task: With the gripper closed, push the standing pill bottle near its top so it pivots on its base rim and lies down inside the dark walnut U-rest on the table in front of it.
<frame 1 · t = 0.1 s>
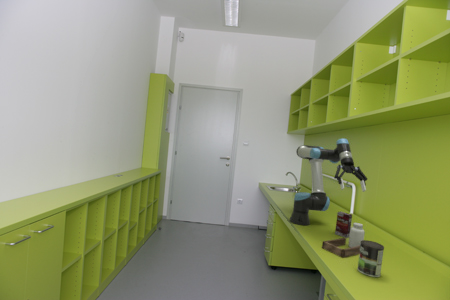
hand: (353, 189, 163), 36 cm above the worktop, tool tilted 35°, fingers open, 13 cm apart
pill bottle: (355, 248, 166), on the worktop
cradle: (343, 250, 159), on the worktop
coffee can: (368, 272, 133), on the worktop
supplement box: (342, 235, 188), on the worktop
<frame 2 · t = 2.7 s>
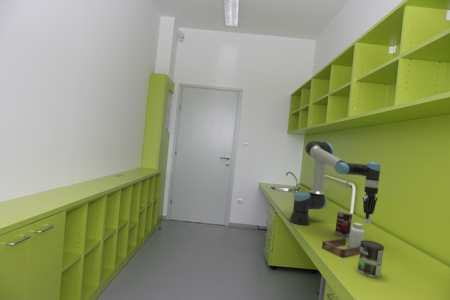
hand: (367, 223, 170), 14 cm above the worktop, tool pointing down, fingers closed
nothing on the worktop moved.
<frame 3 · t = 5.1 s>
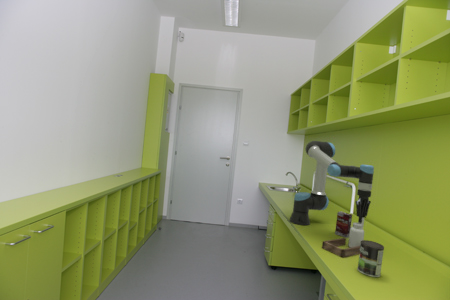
hand: (360, 227, 167), 12 cm above the worktop, tool pointing down, fingers closed
pill bottle: (355, 247, 166), on the worktop, touching gripper
everything else where it was.
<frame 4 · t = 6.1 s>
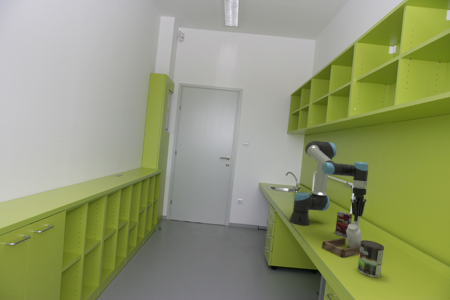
hand: (356, 226, 162), 14 cm above the worktop, tool pointing down, fingers closed
pill bottle: (355, 245, 166), point 2 cm above the worktop, touching gripper
everything else where it was.
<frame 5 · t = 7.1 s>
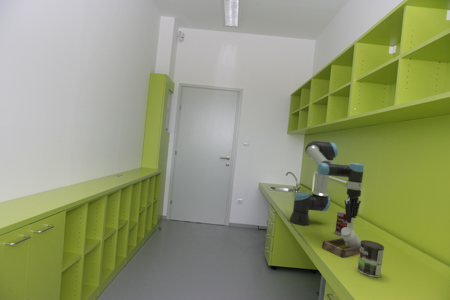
hand: (349, 228, 160), 13 cm above the worktop, tool pointing down, fingers closed on pill bottle
pill bottle: (354, 243, 165), point 3 cm above the worktop, touching gripper
everything else where it was.
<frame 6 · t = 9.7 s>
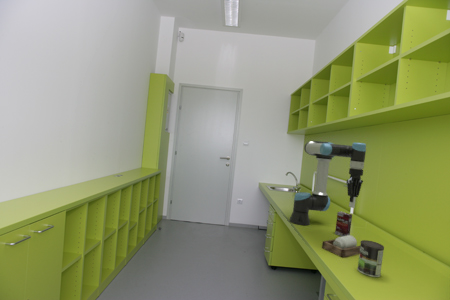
hand: (351, 207, 162), 25 cm above the worktop, tool pointing down, fingers closed
pill bottle: (351, 241, 164), point 4 cm above the worktop
everything else where it was.
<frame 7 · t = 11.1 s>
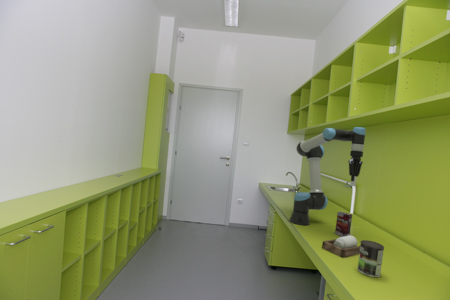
hand: (352, 185, 180), 36 cm above the worktop, tool pointing down, fingers closed
nothing on the worktop moved.
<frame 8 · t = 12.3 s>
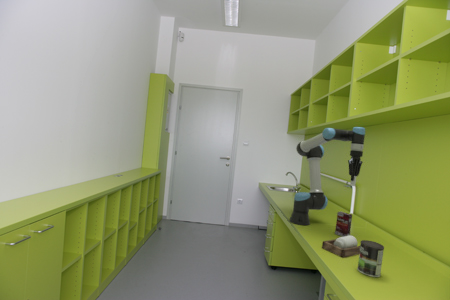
hand: (352, 185, 180), 36 cm above the worktop, tool pointing down, fingers closed
nothing on the worktop moved.
at the end: pill bottle tilted 90°; pill bottle inside the target area on the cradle (1.6 cm from its centre), point 3.9 cm above the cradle's base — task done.
